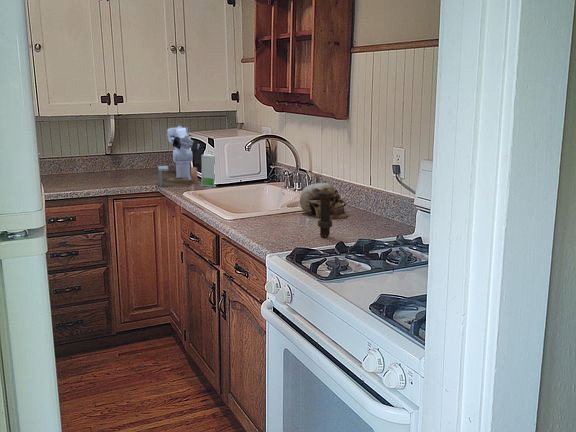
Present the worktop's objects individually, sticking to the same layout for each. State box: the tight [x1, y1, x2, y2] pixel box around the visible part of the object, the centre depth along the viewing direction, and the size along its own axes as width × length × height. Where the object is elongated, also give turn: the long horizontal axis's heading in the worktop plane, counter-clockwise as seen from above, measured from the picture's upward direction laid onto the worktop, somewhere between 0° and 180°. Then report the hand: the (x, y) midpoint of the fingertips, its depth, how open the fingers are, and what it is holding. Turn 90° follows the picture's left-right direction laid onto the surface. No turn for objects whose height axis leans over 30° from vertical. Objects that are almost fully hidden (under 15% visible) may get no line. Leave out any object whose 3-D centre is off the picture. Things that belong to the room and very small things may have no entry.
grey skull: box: [299, 182, 349, 220], centre depth 231 cm, size 16×17×13 cm
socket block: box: [162, 176, 190, 188], centre depth 301 cm, size 10×13×3 cm
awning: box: [157, 165, 169, 188], centre depth 299 cm, size 11×5×9 cm, turn 12°
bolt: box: [317, 191, 334, 239], centre depth 196 cm, size 6×5×15 cm
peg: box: [190, 166, 198, 185], centre depth 306 cm, size 3×3×8 cm
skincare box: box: [201, 153, 217, 188], centre depth 297 cm, size 8×7×16 cm
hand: (187, 149), depth 296 cm, fingers open, 7 cm apart
